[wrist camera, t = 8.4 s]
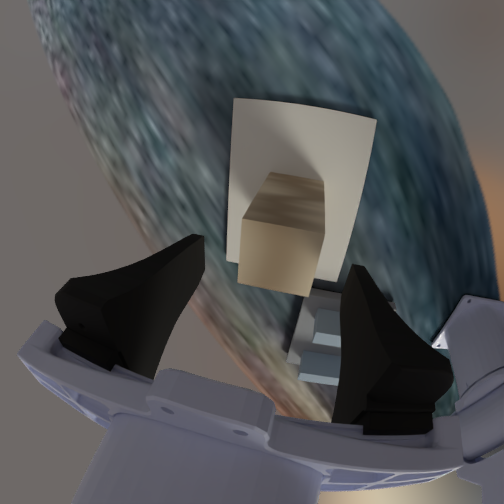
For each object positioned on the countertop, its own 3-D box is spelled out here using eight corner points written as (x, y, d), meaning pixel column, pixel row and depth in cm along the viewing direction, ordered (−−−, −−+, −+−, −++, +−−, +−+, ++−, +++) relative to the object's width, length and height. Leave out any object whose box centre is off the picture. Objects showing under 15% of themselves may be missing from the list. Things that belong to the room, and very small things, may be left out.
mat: (375, 119, 16) (376, 119, 16) (336, 279, 24) (336, 282, 24) (235, 97, 18) (233, 98, 17) (227, 258, 25) (226, 260, 25)
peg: (324, 181, 19) (325, 234, 13) (314, 229, 21) (308, 297, 15) (270, 171, 20) (241, 218, 13) (264, 219, 22) (237, 282, 15)
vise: (394, 302, 24) (401, 333, 21) (358, 366, 30) (358, 394, 27) (306, 286, 25) (302, 318, 22) (287, 355, 31) (281, 383, 28)
